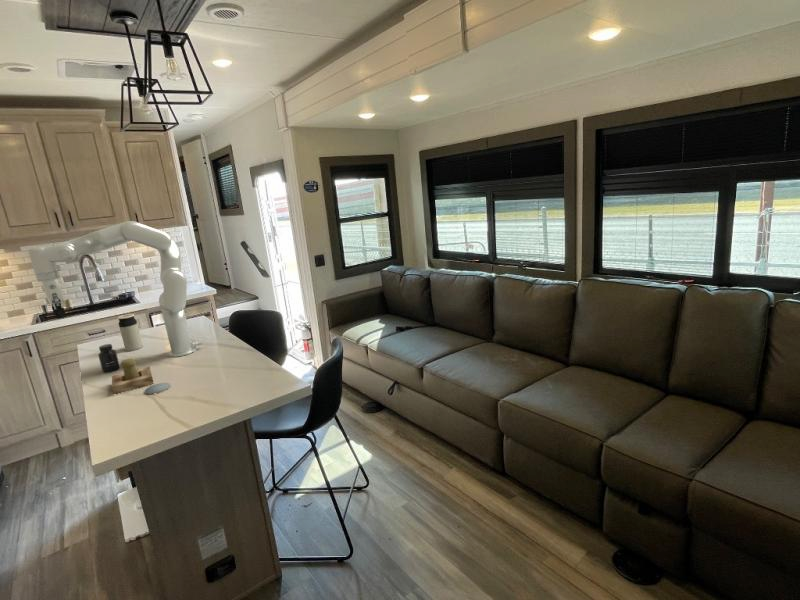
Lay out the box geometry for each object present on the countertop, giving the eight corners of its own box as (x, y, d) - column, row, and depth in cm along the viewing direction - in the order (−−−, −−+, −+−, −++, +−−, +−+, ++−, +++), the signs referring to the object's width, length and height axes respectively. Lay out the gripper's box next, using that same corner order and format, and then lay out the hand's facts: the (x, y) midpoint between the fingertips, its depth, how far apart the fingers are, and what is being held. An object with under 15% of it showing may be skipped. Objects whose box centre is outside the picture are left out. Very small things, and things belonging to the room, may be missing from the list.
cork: (124, 388, 174) (117, 363, 171) (126, 383, 179) (119, 359, 177) (141, 384, 177) (135, 360, 174) (142, 379, 182) (136, 355, 179)
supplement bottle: (111, 373, 192) (104, 348, 189) (99, 373, 194) (92, 348, 191) (123, 367, 199) (117, 343, 196) (111, 367, 200) (105, 343, 197)
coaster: (169, 382, 177) (168, 380, 177) (171, 389, 169) (171, 388, 169) (144, 388, 172) (144, 387, 172) (145, 396, 165) (145, 395, 165)
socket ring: (151, 373, 187) (149, 366, 187) (153, 384, 176) (151, 376, 175) (114, 383, 180) (112, 376, 179) (114, 395, 169) (111, 387, 168)
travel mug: (146, 346, 225) (137, 314, 221) (130, 352, 219) (121, 318, 214) (138, 345, 230) (130, 313, 225) (122, 350, 223) (113, 317, 219)
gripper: (61, 276, 171) (73, 316, 176) (57, 273, 184) (68, 310, 188) (38, 280, 166) (51, 321, 171) (34, 276, 179) (47, 315, 183)
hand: (60, 316), depth 179 cm, fingers open, 9 cm apart
